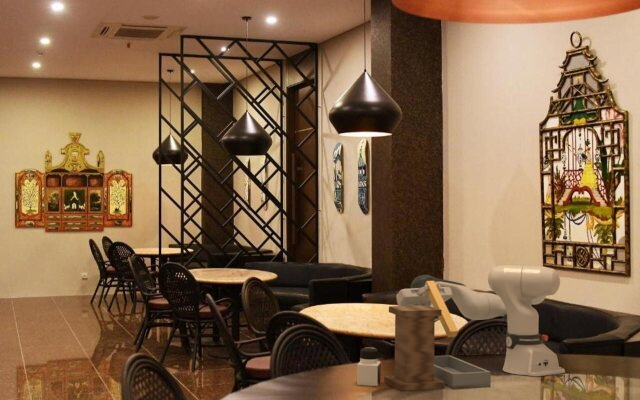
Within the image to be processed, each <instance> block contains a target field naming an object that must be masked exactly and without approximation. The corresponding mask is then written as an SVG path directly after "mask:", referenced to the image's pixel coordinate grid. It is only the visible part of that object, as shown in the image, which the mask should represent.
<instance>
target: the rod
mask: <svg viewBox="0 0 640 400" xmlns="http://www.w3.org/2000/svg"><path fill="white" fill-rule="evenodd" d="M425 285H429V287H430V290H429V291H426V292H427V294H428V296H429V298H430V300H431V302H432V305H433V307H434V308H437V309H441V310H442V312H441V316H438V317H439V320H438V321H440V324H441V326H442V328H443V331H444V332H445V334H446V337H447V338H455V337H457V336H458V335H457V334H458V333H459V330H458V328H457V326H456V323H455V322H454V319H453V317H452V316H451V313H450V311H449V309H448V307H447V305H446V302H444V300H443V298H442V296H441V294H440V292H439V290H438V288H437V286H436V284H435V282H434V281H426V283H425Z"/></svg>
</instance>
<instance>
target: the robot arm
mask: <svg viewBox="0 0 640 400" xmlns="http://www.w3.org/2000/svg"><path fill="white" fill-rule="evenodd" d="M426 281H434V282H435V284H436V286H437V288H438V290H439V292H440V294H441V296H442V298H443V300H444V303H446V302H447V301H448V300H450V299H452V300H453V303H454V304H455V305H456V306H457V309H458V310H459V312H460V313H461V314H462V315H463V316H464V318H466V319H469V320H473V321H478V320H479V321H481V320H490V319H494V318H497V317H500V316H501V317H502V318H501V320H502V321H503V322H506V324H507V331H506V334H505V337H506V338H505V342H506V343H505V345H506V353H505V358H504V364H503V366H502V367H503V368H502V371H503V372H506V373H509V374H513V375H519V376H520V375H521V376H529V377H544V376H550V375H558V374H559V375H560V374H565V373H566V370H565V368H563V367H561V366H560V364H559V359H558V356H557V354H556V353H555V352H553V350H551V349H550V348H549V347H548V346H546V345H545V344H544V343H543V341H546V342H547V341H548V339H549V336H548V334H547V335H546V334H541V333H539V317H540V316H539V312H538V311H537V309H536V308H534V307H533V305H539V304H541V303H543V301H544V300H545V299H546V297H547V296H553V295H555V294H556V293H557V292H558V290H559V289H560V286H561V278H560V275H559V273H558V272H557V270H556V269H554V268H551V267H547V266H542V265H523V264H522V265H519V264H503V265H502V264H501V265H496V266H493V267H492V268H491V269H490V271H489V273H488V277H487V283H488V286H489V288H490V289H491V290H492V292H494V293H495V294H494V293H492V292H491V293H490V292H483V291H482V292H481V291H479V292H478V291H475V290H473V289H471V288H470V287H468V286H467V285H465V284H464V283H461V282H456V281H453V280H447V279H442V278H437V277H434V276H432V275H430V274H422V275H418V276H416V277H415V278H414V279H412V283H411V284H410V288H403V289H400V290H399V292H398V293H396V296H395V297H396V303H397V306H419V305H427V306H430V307H433V305H432V302H431V300H430V298H429V296H428V294H427V292H426V291H429V290H430V287H429V285H425V283H426ZM438 321H440V320H439V317H438V316H435V323H436V322H438Z"/></svg>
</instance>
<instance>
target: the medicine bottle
mask: <svg viewBox="0 0 640 400" xmlns="http://www.w3.org/2000/svg"><path fill="white" fill-rule="evenodd" d="M359 353H360V354H359V355H360V356H359V360H360V361H359V362H358V363H357V366H356V385H357V386H365V387H367V386H368V387H378V386H379V385H380V384H381V381H382V380H381V378H382V377H381V375H382V373H381V372H382V370H381V368H382V367H381V366H382V364H381V360H379V350H378V349H377V348H375V347H363V348H361V349H360V351H359Z"/></svg>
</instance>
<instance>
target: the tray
mask: <svg viewBox="0 0 640 400" xmlns="http://www.w3.org/2000/svg"><path fill="white" fill-rule="evenodd" d="M491 374H492V372H491V371H489V370H487V369H485V368H482V367H480V366H477V365H474V364H473V363H469V362H468V361H465V360H463V359H460V358H457V357H455V356H453V355H434V377H435V378H437V379H439V380H441V381H443V382H445V387H448V388H449V389H452V390H461V389H474V388H475V389H476V388H490V387H491V385H492V384H491V382H492V381H491V378H492V376H491Z"/></svg>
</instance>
